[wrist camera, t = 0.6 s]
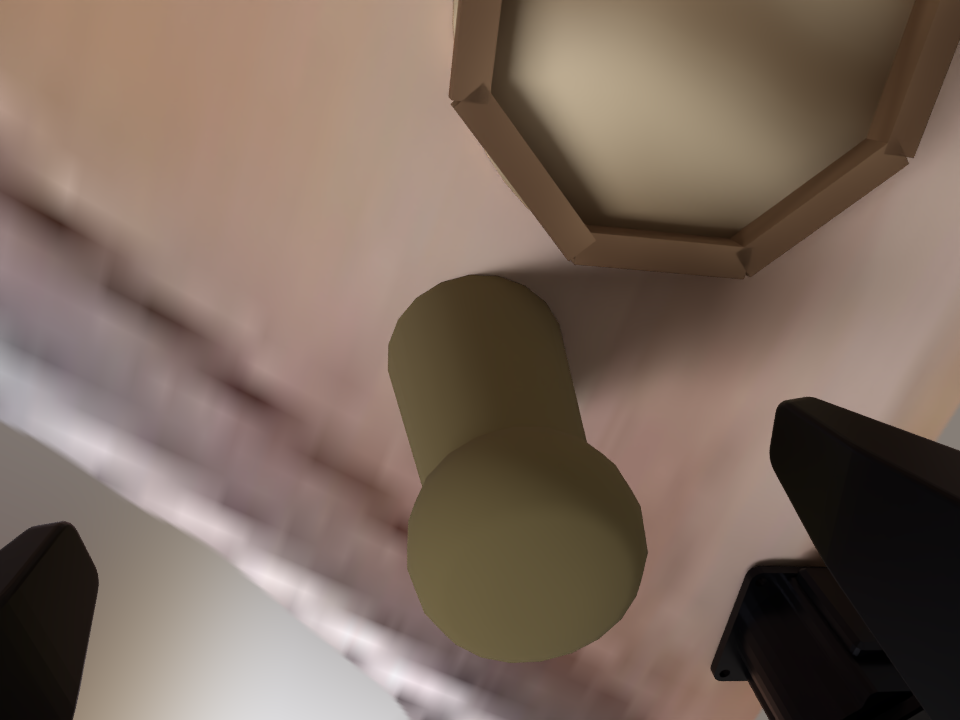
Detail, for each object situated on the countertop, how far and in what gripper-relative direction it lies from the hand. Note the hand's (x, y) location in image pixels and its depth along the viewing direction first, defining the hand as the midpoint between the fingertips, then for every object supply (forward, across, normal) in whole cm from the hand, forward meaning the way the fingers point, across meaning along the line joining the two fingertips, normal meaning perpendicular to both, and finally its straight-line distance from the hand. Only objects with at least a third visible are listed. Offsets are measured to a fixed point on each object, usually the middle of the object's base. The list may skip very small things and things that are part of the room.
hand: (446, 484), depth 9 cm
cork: (+13, -2, +6) cm, 15 cm away
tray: (+13, -9, -4) cm, 17 cm away
